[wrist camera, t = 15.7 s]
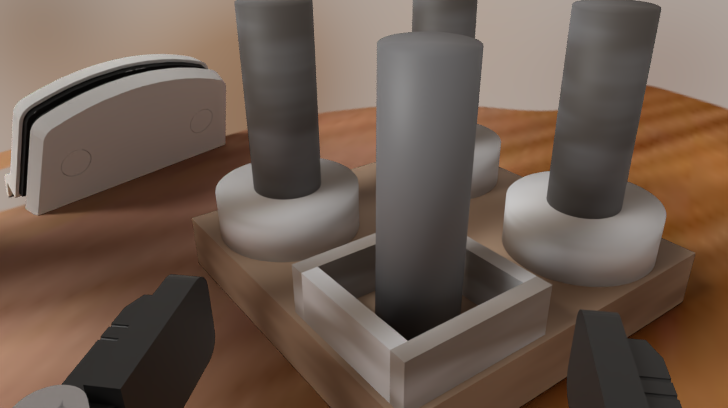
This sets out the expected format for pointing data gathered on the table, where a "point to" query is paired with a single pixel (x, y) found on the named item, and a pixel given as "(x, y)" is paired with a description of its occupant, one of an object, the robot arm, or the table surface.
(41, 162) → the white arched grooved block
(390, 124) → the loose leg
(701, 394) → the table surface
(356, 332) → the upturned partly assembled table
